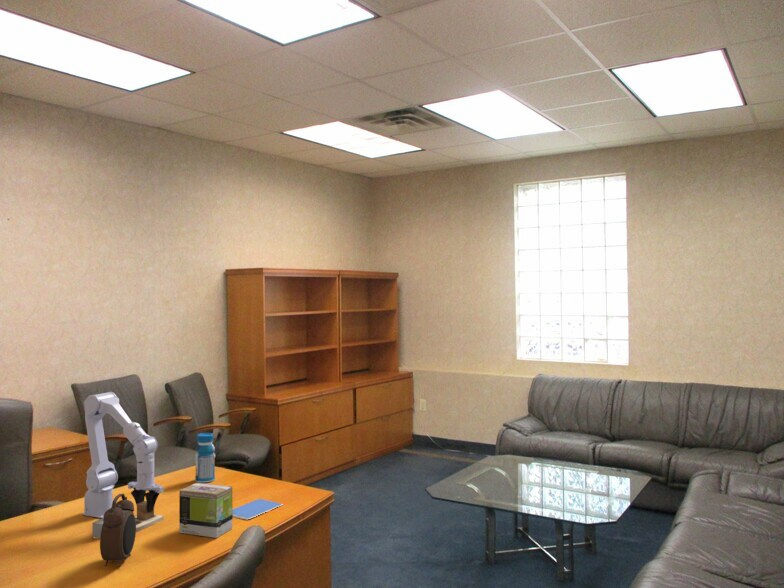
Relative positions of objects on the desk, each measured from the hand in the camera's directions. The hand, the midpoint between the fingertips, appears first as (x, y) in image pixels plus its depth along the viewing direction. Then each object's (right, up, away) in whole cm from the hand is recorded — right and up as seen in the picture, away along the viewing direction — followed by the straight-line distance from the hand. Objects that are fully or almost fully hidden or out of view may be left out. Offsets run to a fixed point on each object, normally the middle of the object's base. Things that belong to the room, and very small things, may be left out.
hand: (145, 510), depth 222 cm
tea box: (+24, -4, -9) cm, 26 cm away
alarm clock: (+6, -4, -34) cm, 35 cm away
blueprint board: (-1, -4, -3) cm, 5 cm away
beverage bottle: (+7, -4, +49) cm, 49 cm away
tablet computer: (+36, -5, +12) cm, 38 cm away
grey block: (-9, -4, -14) cm, 17 cm away
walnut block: (0, -2, 0) cm, 2 cm away
